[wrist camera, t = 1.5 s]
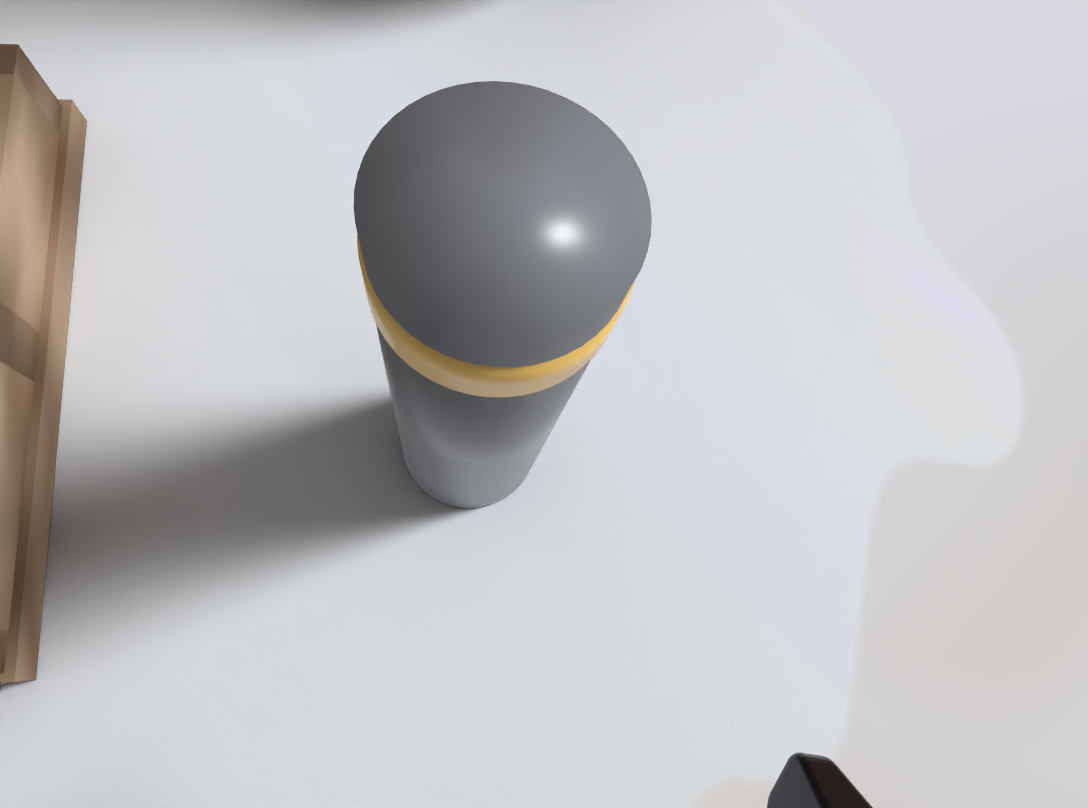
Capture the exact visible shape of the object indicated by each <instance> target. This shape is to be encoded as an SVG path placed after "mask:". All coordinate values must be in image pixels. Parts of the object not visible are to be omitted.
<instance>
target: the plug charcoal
mask: <svg viewBox="0 0 1088 808" xmlns="http://www.w3.org/2000/svg"><path fill="white" fill-rule="evenodd" d="M354 214H355V223H356V229H357V233H358V235H357V245H358V254H359V261H360V266H361V270H362V275H363V279H364V284H365V289H366V293H367V298H368V301H369V305H370V309H371V312H372V315H373V317H374V319H375V322H376V325H377V330H378V335H379V340H380V345H381V349H382V354H383V359H384V364H385V369H386V374H387V378H388V383H389V388H390V393H391V398H392V403H393V407H394V412H395V417H396V422H397V427H398V432H399V436H400V441H401V446H402V451H403V456H404V460H405V463H406V466H407V468H408V471H409V473H410V475H411V476H412V478H413V480H414V481H415V482H416V483H417V485H418V486H419V487H420V488H421V489H422V490H423V491H424V492H425V493H427V494H428V495H429V496H431V497H432V498H434V499H436V500H437V501H439V502H441V503H444V504H447V505H450V506H454V507H459V508H479V507H484V506H488V505H492V504H494V503H496V502H499V501H501V500H502V499H504V498H506V497H507V496H509V495H510V494H511V493H512V492H514V491H515V490H516V489H517V488H518V487H519V486H520V484H521V483H522V482H523V480H524V479H525V477H526V476H527V474H528V472H529V470H530V468H531V467H532V465H533V463H534V461H535V459H536V458H537V456H538V454H539V452H540V450H541V448H542V447H543V445H544V443H545V441H546V439H547V438H548V436H549V434H550V432H551V430H552V429H553V427H554V425H555V423H556V421H557V420H558V418H559V416H560V414H561V412H562V411H563V409H564V407H565V405H566V403H567V402H568V400H569V398H570V396H571V394H572V393H573V391H574V389H575V387H576V385H577V384H578V382H579V380H580V378H581V376H582V374H583V373H584V371H585V369H586V367H587V365H588V364H589V362H590V360H591V359H592V358H593V357H594V355H595V354H596V353H597V351H598V350H599V349H600V347H601V346H602V345H603V343H604V341H605V340H606V338H607V336H608V334H609V332H610V331H611V329H612V327H613V325H614V324H615V322H616V320H617V318H618V317H619V315H620V313H621V311H622V309H623V308H624V306H625V304H626V302H627V300H628V298H629V296H630V293H631V290H632V287H633V285H634V281H635V279H636V277H637V275H638V273H639V272H640V270H641V268H642V265H643V262H644V260H645V257H646V254H647V251H648V246H649V241H650V236H651V220H652V219H651V208H650V200H649V196H648V192H647V188H646V184H645V182H644V179H643V177H642V174H641V171H640V169H639V167H638V166H637V164H636V162H635V160H634V158H633V156H632V155H631V153H630V152H629V151H628V149H627V148H626V146H625V145H624V144H623V142H622V141H621V140H620V139H619V138H618V137H617V135H616V134H615V133H614V132H613V131H612V130H611V129H610V128H609V127H608V126H607V125H606V124H604V123H603V122H602V121H601V120H600V119H599V118H598V117H596V116H595V115H593V114H592V113H591V112H589V111H588V110H586V109H585V108H583V107H582V106H580V105H578V104H576V103H574V102H573V101H571V100H569V99H567V98H565V97H563V96H560V95H558V94H555V93H553V92H550V91H547V90H544V89H541V88H537V87H534V86H530V85H524V84H518V83H512V82H497V81H490V82H473V83H467V84H461V85H456V86H452V87H449V88H445V89H441V90H439V91H436V92H434V93H431V94H429V95H426V96H424V97H422V98H420V99H419V100H417V101H415V102H413V103H412V104H410V105H408V106H407V107H406V108H404V109H403V110H402V111H400V112H399V113H398V114H396V115H395V116H394V117H393V118H392V119H391V120H390V121H389V122H388V123H387V124H386V125H385V126H384V127H383V128H382V129H381V130H380V132H379V133H378V134H377V136H376V137H375V138H374V139H373V141H372V142H371V144H370V146H369V148H368V150H367V151H366V153H365V155H364V157H363V160H362V163H361V165H360V168H359V171H358V175H357V179H356V184H355V190H354Z"/></svg>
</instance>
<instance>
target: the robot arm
mask: <svg viewBox="0 0 1088 808" xmlns="http://www.w3.org/2000/svg"><path fill="white" fill-rule="evenodd" d="M0 688H1V679H0ZM767 808H872V806H871V805H870V804H869V803H868V802H867V801H866V799H865V798H864V797H863V796H862V795H861V794H860V792H859V791H858V790H857V789H856V788H855V786H853V784H852V783H851V782H850V781H849V779H848V778H847V777H846V776H845V775H844V773H843V772H842V771H841V770H840V769H839V768H838V766H837V765H836V764H835V763H834V762H833V761H831V760H830V759H829V758H827V757H824V756H819V755H813V754H806V753H795V754H793V755H792V756H790V758H789V759H788V761H787V763H786V765H785V767H784V769H783V770H782V772H781V774H780V776H779V778H778V780H777V781H776V783H775V785H774V787H773V789H772V791H771V793H770V796H769V799H768V805H767Z"/></svg>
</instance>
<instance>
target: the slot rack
mask: <svg viewBox="0 0 1088 808" xmlns="http://www.w3.org/2000/svg"><path fill="white" fill-rule="evenodd" d="M86 124H87V121H86V119H85V118H84V116H83V115H82V113H81V112H80V111H79V109H78V108H77V106H76V105H75V103H74V102H73V100H57V98H56V97H55V95H54V94H53V93H52V91H51V90H50V88H49V87H48V86H47V84H46V83H45V81H44V80H43V79H42V77H41V76H40V74H39V73H38V72H37V70H36V69H35V68H34V66H33V65H32V63H31V62H30V61H29V59H28V58H27V56H26V55H25V54H24V52H23V51H22V49H21V48H20V47H19V45H18V44H0V679H1V684H4V683H13V682H22V681H30V680H36V673H37V662H38V651H39V640H40V629H41V618H42V607H43V596H44V585H45V574H46V563H47V552H48V541H49V530H50V519H51V508H52V497H53V486H54V476H55V465H56V454H57V443H58V432H59V421H60V410H61V399H62V388H63V377H64V366H65V355H66V344H67V333H68V322H69V311H70V300H71V289H72V278H73V267H74V256H75V245H76V234H77V223H78V212H79V201H80V190H81V179H82V168H83V157H84V146H85V135H86Z"/></svg>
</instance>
